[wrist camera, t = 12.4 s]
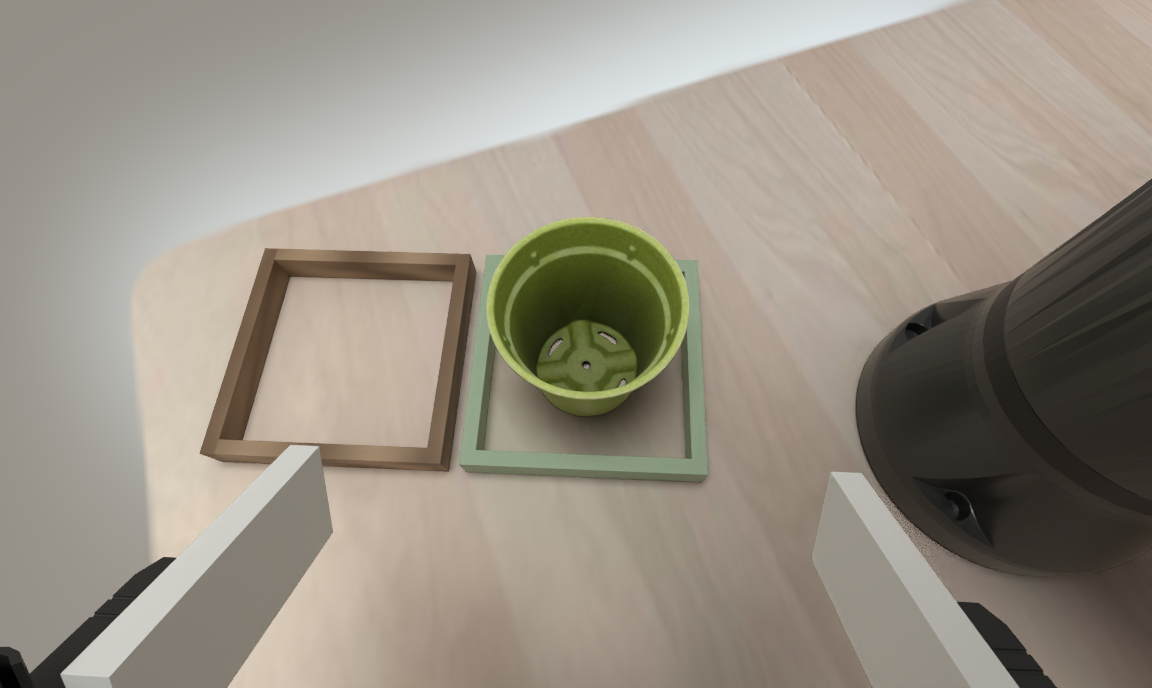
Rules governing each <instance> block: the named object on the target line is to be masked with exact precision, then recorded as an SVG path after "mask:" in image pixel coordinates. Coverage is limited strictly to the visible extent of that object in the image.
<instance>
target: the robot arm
mask: <svg viewBox="0 0 1152 688" xmlns="http://www.w3.org/2000/svg"><path fill="white" fill-rule="evenodd" d="M856 407H857V421H858V428H859V433H860V437H861V441H862V444H863V447H864V450H865V453H866V456H867V458H868V460H869V462H870V465H871V467H872V469H873V471H874V473H875V474H876V476H877V478H878V480H879V481H880V483H881V485H882V486H883V488H884V489H885V490H886V492H887V493H888V495H889V496H890V497H891V499H892V500H893V501H894V502H895V504H896V505H897V506H898V507H899V508H900V509H901V511H902V512H903V513H904V514H905V515H906V516H907V517H908V518H909V519H910V520H911V521H912V522H913V523H914V524H915V525H917V526H918V527H919V528H920V529H921V530H922V531H924V532H925V533H926V534H927V535H929V536H930V537H931V538H933V539H934V540H935V541H937V542H938V543H940V544H941V545H943V546H944V547H946V548H948V549H949V550H951V551H952V552H954V553H956V554H958V555H960V556H962V557H964V558H966V559H968V560H970V561H973V562H975V563H977V564H980V565H983V566H985V567H988V568H991V569H995V570H998V571H1002V572H1006V573H1011V574H1017V575H1025V576H1063V575H1080V574H1089V573H1095V572H1099V571H1103V570H1107V569H1110V568H1114V567H1116V566H1119V565H1122V564H1124V563H1127V562H1129V561H1131V560H1133V559H1135V558H1136V557H1138V556H1140V555H1142V554H1143V553H1145V552H1147V551H1148V550H1150V549H1152V179H1151V180H1149V181H1148V182H1147V183H1145V184H1144V185H1143V186H1141V187H1140V188H1139V189H1137V190H1136V191H1135V192H1133V193H1132V194H1131V195H1129V196H1128V197H1127V198H1125V199H1124V200H1123V201H1121V202H1120V203H1118V204H1117V205H1116V206H1114V207H1113V208H1112V209H1110V210H1109V211H1108V212H1106V213H1105V214H1104V215H1102V216H1101V217H1100V218H1098V219H1097V220H1095V221H1094V222H1093V223H1091V224H1090V225H1088V226H1087V227H1086V228H1084V229H1083V230H1081V231H1080V232H1079V233H1077V234H1076V235H1075V236H1073V237H1072V238H1070V239H1069V240H1068V241H1066V242H1065V243H1063V244H1062V245H1061V246H1059V247H1058V248H1057V249H1055V250H1054V251H1052V252H1051V253H1050V254H1048V255H1047V256H1045V257H1044V258H1043V259H1041V260H1040V261H1038V262H1037V263H1036V264H1034V265H1033V266H1032V267H1031V268H1029V269H1028V270H1027V271H1025V272H1024V273H1023V274H1021V275H1020V276H1019V277H1017V278H1016V279H1014V280H1013V281H1010V282H1006V283H1003V284H999V285H996V286H992V287H988V288H985V289H981V290H978V291H974V292H971V293H967V294H964V295H960V296H957V297H953V298H950V299H946V300H943V301H940V302H937V303H934V304H932V305H930V306H928V307H926V308H924V309H922V310H920V311H918V312H916V313H915V314H913V315H912V316H910V317H909V318H907V319H906V320H905V321H904V322H902V323H901V324H900V325H899V326H898V327H897V328H895V329H894V330H893V331H892V332H891V333H890V334H889V335H887V336H886V337H885V338H884V339H883V340H882V341H881V342H880V343H879V344H878V345H877V347H876V348H875V349H874V351H873V352H872V354H871V355H870V357H869V358H868V360H867V362H866V364H865V367H864V369H863V371H862V374H861V378H860V381H859V386H858V392H857V406H856ZM332 533H333V529H332V523H331V516H330V510H329V504H328V498H327V492H326V485H325V479H324V473H323V467H322V461H321V454H320V448H319V446H304V445H290V446H289V447H288V448H287V449H286V450H285V451H284V452H283V453H282V454H281V455H280V456H279V457H278V458H277V459H276V460H275V461H274V462H273V463H272V464H271V465H270V466H269V467H268V468H267V469H266V470H265V471H264V472H263V473H262V474H261V475H260V476H259V477H258V478H257V479H256V480H255V481H254V482H253V483H252V484H251V485H250V486H249V487H248V488H247V489H246V490H245V491H244V492H243V493H242V494H241V495H240V496H239V497H238V498H237V499H236V500H235V501H234V502H233V503H232V504H231V505H230V506H229V507H228V508H227V509H226V510H225V511H224V512H223V513H222V514H221V515H220V516H219V517H218V518H216V519H215V520H214V521H213V522H212V523H211V524H210V525H209V526H208V527H207V528H206V529H205V530H204V531H203V532H202V533H201V534H200V535H199V536H198V537H197V538H196V539H195V540H194V541H193V542H192V543H191V544H190V545H189V546H188V547H187V548H186V549H185V550H184V551H183V552H182V553H181V554H180V555H179V556H178V557H177V558H171V557H163V558H161V559H160V560H158V561H156V562H155V563H153V564H151V565H150V566H148V567H147V568H145V569H143V570H142V571H140V572H138V573H137V574H135V575H134V576H133V577H132V578H131V579H130V580H129V581H128V582H127V583H126V584H124V586H122V587H121V588H120V589H119V590H118V591H117V592H116V593H115V594H114V595H113V598H112V599H111V600H108V601H106V603H104V605H102V606H101V607H100V608H99V609H98V610H97V611H96V612H95V615H94V616H93V617H90V618H88V619H87V621H85V622H84V623H83V624H82V625H81V626H80V627H79V628H78V629H77V630H76V631H75V632H74V633H73V634H71V635H70V636H69V637H68V638H67V639H66V640H65V641H64V642H63V643H62V644H61V645H60V646H59V647H58V648H57V649H56V650H55V651H54V652H52V653H51V654H50V655H49V656H48V657H47V658H46V659H45V660H44V661H43V662H42V663H41V664H40V665H39V666H37V668H35V669H34V670H33V671H32V672H31V673H30V674H29V672H28V670H27V667H26V665H25V663H24V661H23V659H22V656H21V654H20V652H19V651H17V650H15V649H12V648H10V647H0V688H227V687H228V686H229V684H230V683H231V681H232V680H233V678H234V677H235V675H236V674H237V672H238V671H239V669H240V668H241V666H242V665H243V664H244V662H245V661H246V659H247V658H248V656H249V655H250V653H251V652H252V650H253V649H254V647H255V646H256V644H257V643H258V642H259V640H260V639H261V637H262V636H263V634H264V633H265V631H266V630H267V628H268V627H269V625H270V624H271V622H272V621H273V619H274V618H275V617H276V615H277V614H278V612H279V611H280V609H281V608H282V606H283V605H284V603H285V602H286V600H287V599H288V597H289V596H290V595H291V593H292V592H293V590H294V589H295V587H296V586H297V584H298V583H299V581H300V580H301V578H302V577H303V575H304V574H305V573H306V571H307V570H308V568H309V567H310V565H311V564H312V562H313V561H314V559H315V558H316V556H317V555H318V553H319V552H320V551H321V549H322V548H323V546H324V545H325V543H326V542H327V540H328V539H329V537H330V536H331V534H332ZM811 559H812V561H813V563H814V565H815V567H816V570H817V572H818V574H819V576H820V578H821V580H822V582H823V584H824V587H825V589H826V591H827V593H828V595H829V597H830V599H831V601H832V603H833V606H834V608H835V610H836V612H837V614H838V616H839V618H840V620H841V622H842V625H843V627H844V629H845V631H846V633H847V635H848V637H849V639H850V641H851V644H852V646H853V648H854V650H855V652H856V654H857V656H858V658H859V661H860V663H861V665H862V667H863V669H864V671H865V673H866V675H867V677H868V680H869V682H870V684H871V686H872V688H1057V687H1056V686H1055V685H1054V684H1053V682H1052V681H1051V680H1050V679H1049V677H1048V676H1044V674H1043V670H1042V669H1041V667H1040V666H1039V665H1038V664H1037V662H1036V661H1035V660H1034V659H1033V657H1032V656H1031V655H1028V654H1027V652H1026V649H1025V647H1024V646H1023V645H1022V644H1021V642H1020V641H1019V640H1018V639H1017V637H1016V636H1015V635H1014V634H1013V633H1012V631H1011V630H1010V629H1009V628H1008V626H1007V625H1006V624H1005V623H1003V622H1002V621H1001V620H1000V619H998V618H997V617H996V616H994V615H993V614H992V613H991V612H989V611H988V610H987V609H986V608H984V607H983V606H982V605H981V604H979V603H970V602H956V601H955V599H954V598H953V597H952V595H951V594H950V593H949V591H948V590H947V589H946V587H945V586H944V584H943V583H942V582H941V580H940V579H939V578H938V576H937V575H936V574H935V572H934V571H933V570H932V568H931V567H930V565H929V564H928V563H927V561H926V560H925V559H924V557H923V556H922V555H921V553H920V552H919V551H918V549H917V548H916V546H915V545H914V544H913V542H912V541H911V540H910V538H909V537H908V536H907V534H906V533H905V532H904V530H903V529H902V527H901V526H900V525H899V523H898V522H897V521H896V519H895V518H894V517H893V515H892V514H891V512H890V511H889V510H888V508H887V507H886V506H885V504H884V503H883V502H882V500H881V499H880V498H879V496H878V495H877V493H876V492H875V491H874V489H873V488H872V487H871V485H870V484H869V483H868V481H867V480H866V479H865V477H864V476H863V474H862V473H850V472H830V476H829V480H828V485H827V490H826V494H825V499H824V503H823V508H822V512H821V517H820V522H819V526H818V531H817V535H816V540H815V545H814V549H813V554H812V558H811Z"/></svg>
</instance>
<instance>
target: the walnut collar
mask: <svg viewBox="0 0 1152 688" xmlns="http://www.w3.org/2000/svg"><path fill="white" fill-rule="evenodd" d="M290 276H299V277H332V278H365V279H398V280H432V281H453V286H452V293H451V299H450V305H449V312H448V318H447V325H446V331H445V338H444V344H443V351H442V357H441V363H440V370H439V376H438V383H437V389H436V396H435V402H434V409H433V415H432V422H431V428H430V434H429V441H428V447H427V448H415V447H391V446H367V445H343V444H318V443H294V442H270V441H245V440H242V439H243V435H244V432H245V428H246V425H247V421H248V418H249V415H250V411H251V408H252V404H253V401H254V397H255V394H256V391H257V387H258V384H259V380H260V377H261V373H262V370H263V367H264V363H265V360H266V356H267V353H268V349H269V346H270V343H271V339H272V336H273V332H274V329H275V326H276V322H277V319H278V315H279V312H280V308H281V305H282V302H283V298H284V295H285V291H286V288H287V284H288V281H289V278H290ZM475 276H476V269H475V266H474V264H473V261H472V258H471V255H470V254H445V253H409V252H374V251H338V250H303V249H268V248H265V251H264V254H263V257H262V260H261V263H260V266H259V269H258V273H257V276H256V279H255V282H254V285H253V288H252V291H251V294H250V298H249V301H248V304H247V307H246V310H245V313H244V316H243V319H242V323H241V326H240V329H239V332H238V335H237V338H236V341H235V344H234V348H233V351H232V354H231V357H230V360H229V363H228V366H227V369H226V373H225V376H224V379H223V382H222V385H221V388H220V391H219V394H218V398H217V401H216V404H215V407H214V410H213V413H212V416H211V419H210V423H209V426H208V429H207V432H206V435H205V438H204V441H203V444H202V448H201V451H200V454H202V455H205V456H208V457H211V458H213V459H216V460H219V461H222V462H244V463H267V464H272V463H273V462H274V461H275V460H276V459H277V458H278V457H279V456H280V455H281V454H282V453H283V452H284V451H285V450H286V449H287V448H288V447H289V446H290V445H304V446H319V448H320V454H321V461H322V466H338V467H361V468H385V469H408V470H431V471H449V465H450V458H451V451H452V444H453V436H454V429H455V422H456V414H457V407H458V400H459V393H460V385H461V378H462V371H463V363H464V356H465V349H466V341H467V334H468V327H469V320H470V312H471V305H472V298H473V290H474V283H475Z"/></svg>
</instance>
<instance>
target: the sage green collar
mask: <svg viewBox="0 0 1152 688" xmlns="http://www.w3.org/2000/svg"><path fill="white" fill-rule="evenodd" d="M504 256H505V255H486V261H485V268H484V276H483V284H482V291H481V299H480V307H479V314H478V322H477V330H476V337H475V345H474V353H473V360H472V368H471V376H470V383H469V391H468V399H467V406H466V414H465V422H464V429H463V437H462V445H461V452H460V460H459V465H460V466H461V467H462V468H463V469H464V470H465V471H466V472H478V473H502V474H525V475H549V476H572V477H595V478H619V479H642V480H666V481H689V482H701V481H702V480H703V479H704V478H705V477H706V476H707V475H708V465H707V445H706V424H705V404H704V383H703V363H702V342H701V322H700V301H699V281H698V261H693V260H675V261H676V262H677V264H678V266H679V267H680V269H681V271H682V274H683V276H684V278H685V281H686V285H687V289H688V294H689V303H690V312H689V320H688V326H687V330H686V333H685V336H684V339H683V341H682V368H683V398H684V428H685V458H686V459H682V458H658V457H634V456H610V455H585V454H561V453H537V452H512V451H488V450H483V448H484V439H485V430H486V421H487V413H488V404H489V395H490V386H491V378H492V369H493V360H494V351H495V344H494V341H493V339H492V336H491V334H490V331H489V326H488V321H487V310H486V304H487V295H488V291H489V286H490V283H491V280H492V277H493V275H494V272H495V270H496V268H497V267H498V265H499V263H500V262H501V260H502V259H503V258H504Z"/></svg>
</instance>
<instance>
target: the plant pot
mask: <svg viewBox="0 0 1152 688" xmlns="http://www.w3.org/2000/svg"><path fill="white" fill-rule="evenodd" d="M486 310H487V321H488V326H489V331H490V334H491V336H492V339H493V341H494V344H495V346H496V348H497V350H498V351H499V353H500V355H501V356H502V358H503V359H504V360H505V361H506V363H507V364H508V365H509V366H510V368H512V369H513V370H514V371H515V372H516V373H517V374H518V375H519V376H520V377H521V378H523V379H524V380H525V381H527V382H528V383H530V384H532V385H533V386H535V387H537V388H539V389H540V390H541V391H542V393H543V394H544V395H545V397H546V398H547V399H548V400H549V401H550V402H551V403H552V404H553V405H554V406H556V407H557V408H559V409H561V410H563V411H565V412H567V413H570V414H573V415H577V416H593V415H599V414H603V413H607V412H609V411H611V410H613V409H615V408H616V407H618V406H619V405H620V404H622V403H623V402H624V401H625V400H626V399H627V397H628V396H629V395H630V394H631V392H632V391H634V390H636V389H638V388H640V387H642V386H644V385H645V384H647V383H648V382H650V381H651V380H653V379H654V378H655V377H656V376H657V375H659V374H660V373H661V372H662V371H663V370H664V369H665V368H666V367H667V365H668V364H669V363H670V362H671V360H672V359H673V357H674V356H675V355H676V353H677V351H678V349H679V347H680V345H681V343H682V341H683V339H684V336H685V333H686V330H687V326H688V320H689V312H690V303H689V294H688V289H687V285H686V281H685V278H684V276H683V274H682V271H681V269H680V267H679V266H678V264H677V262H676V261H675V259H674V258H673V257H672V255H671V254H670V253H669V252H668V251H667V250H666V249H665V248H664V246H663V245H662V244H661V243H659V242H658V241H657V240H656V239H655V238H653V237H652V236H650V235H649V234H647V233H645V232H644V231H642V230H640V229H638V228H636V227H634V226H632V225H630V224H627V223H624V222H621V221H616V220H612V219H607V218H599V217H577V218H570V219H564V220H560V221H557V222H554V223H550V224H548V225H545V226H543V227H541V228H538V229H536V230H535V231H533V232H531V233H530V234H528V235H527V236H525V237H524V238H523V239H521V240H520V241H519V242H517V243H516V244H515V245H514V246H513V247H512V248H511V249H510V250H509V251H508V252H507V254H506V255H505V256H504V258H503V259H502V260H501V262H500V263H499V265H498V267H497V268H496V270H495V272H494V275H493V277H492V280H491V283H490V286H489V291H488V295H487V304H486ZM601 331H603V332H605V333H607V334H609V335H611V336H612V337H614V338H615V339H616V342H617V343H616V345H614V344H613V343H611V342H610V341H609V340H608V339H607V338H605V337H603V336H601V335H599V334H598V332H601ZM560 338H562V339H563V342H562V343H561V344H560V345H559V346H558V347H557V348H556V349H555V350H554V352H553V353H552V355H551V356H549V350H550V347H551V346H552V344H553V343H554V342H555V341H556V340H558V339H560ZM585 361H588V362H589V363H590V364H591V366H590V368H588V369H585V368H583V367H582V363H583V362H585ZM623 378H624V379H625V380H626V385H624V386H621V387H618V385H619V384H620V381H621V379H623ZM617 387H618V388H617Z"/></svg>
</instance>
